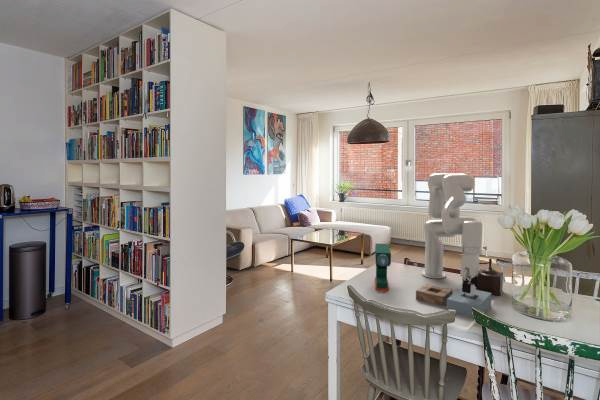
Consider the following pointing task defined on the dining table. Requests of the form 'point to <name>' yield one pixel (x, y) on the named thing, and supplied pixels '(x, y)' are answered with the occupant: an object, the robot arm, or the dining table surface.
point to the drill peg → (471, 295)
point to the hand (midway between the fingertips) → (469, 289)
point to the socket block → (433, 294)
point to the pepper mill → (490, 280)
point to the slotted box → (469, 302)
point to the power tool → (382, 266)
